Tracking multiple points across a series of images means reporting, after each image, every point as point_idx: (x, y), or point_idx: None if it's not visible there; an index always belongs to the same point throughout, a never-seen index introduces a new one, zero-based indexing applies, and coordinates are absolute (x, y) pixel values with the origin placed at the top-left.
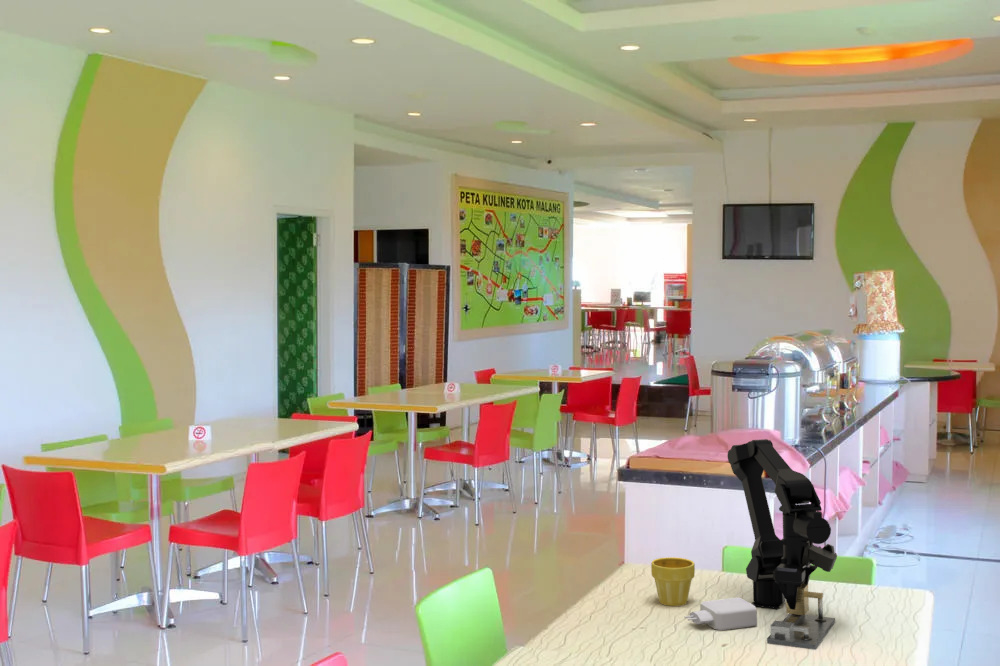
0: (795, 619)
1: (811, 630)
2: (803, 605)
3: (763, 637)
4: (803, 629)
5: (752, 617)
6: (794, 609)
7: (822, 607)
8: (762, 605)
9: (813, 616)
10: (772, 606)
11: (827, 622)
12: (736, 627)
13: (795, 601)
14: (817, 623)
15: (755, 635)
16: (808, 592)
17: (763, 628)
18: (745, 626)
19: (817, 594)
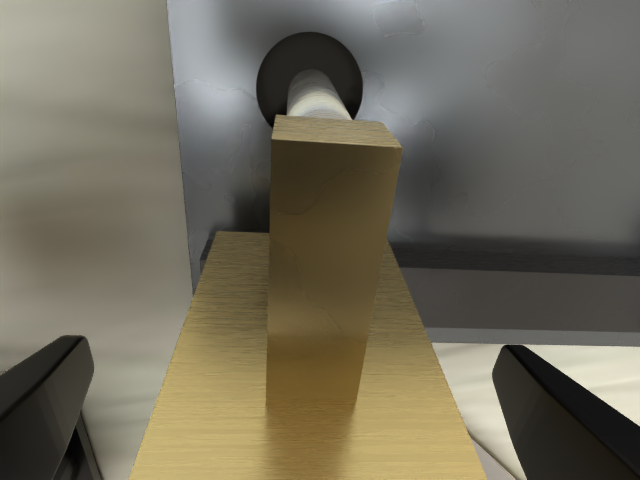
0: (476, 282)
1: (632, 126)
2: (406, 303)
3: (636, 360)
4: None
5: (488, 478)
6: (520, 346)
7: (324, 90)
8: (91, 467)
9: (215, 171)
10: (77, 431)
11: (363, 9)
12: (509, 473)
13: (609, 410)
14: (419, 105)
15: (600, 393)
16: (323, 376)
17: (475, 387)
18: (486, 452)
19: (383, 231)
